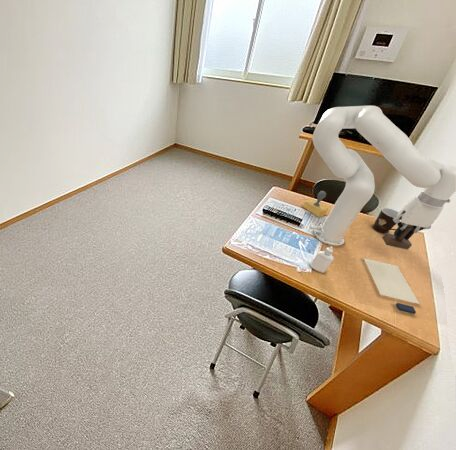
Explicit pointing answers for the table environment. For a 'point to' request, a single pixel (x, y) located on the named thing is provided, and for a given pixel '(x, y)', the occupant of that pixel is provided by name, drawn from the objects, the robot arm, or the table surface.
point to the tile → (390, 281)
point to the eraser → (405, 308)
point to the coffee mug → (385, 220)
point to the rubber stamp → (316, 205)
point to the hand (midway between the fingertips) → (400, 236)
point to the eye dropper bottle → (322, 260)
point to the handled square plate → (398, 239)
